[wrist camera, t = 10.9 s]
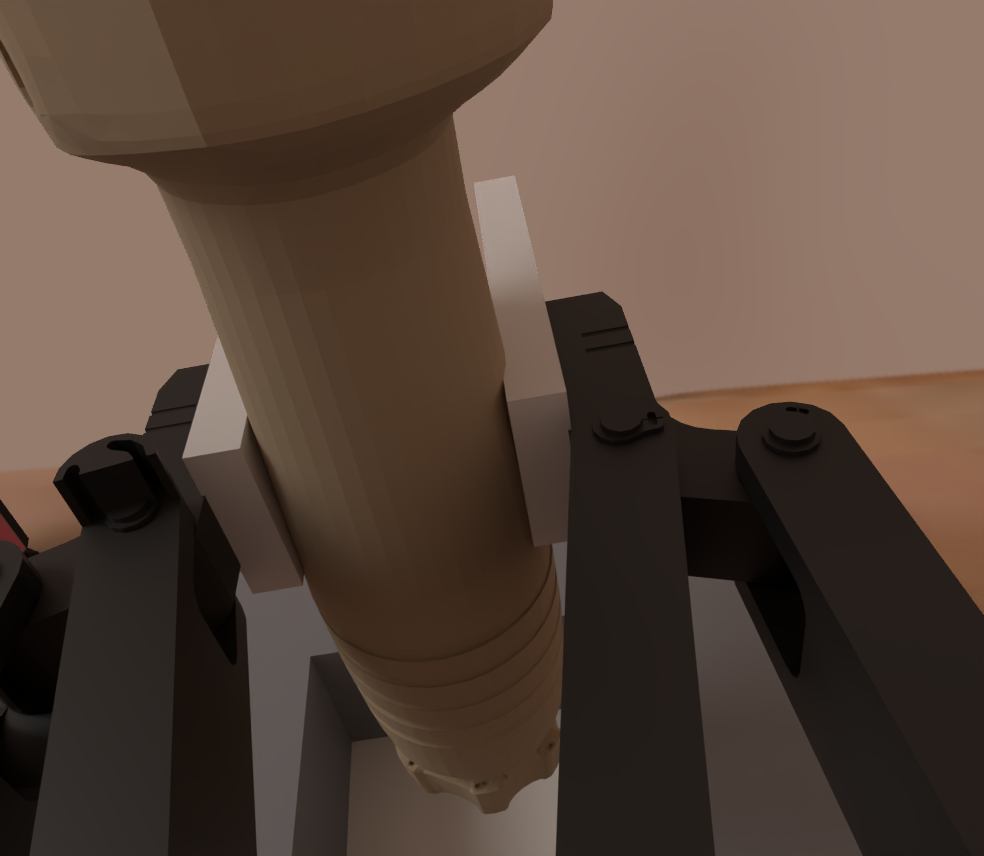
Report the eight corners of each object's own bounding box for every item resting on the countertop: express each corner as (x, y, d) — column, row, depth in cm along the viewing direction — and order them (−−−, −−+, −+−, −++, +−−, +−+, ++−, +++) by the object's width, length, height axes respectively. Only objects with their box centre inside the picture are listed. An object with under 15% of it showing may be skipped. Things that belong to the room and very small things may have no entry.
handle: (497, 586, 21) (318, -164, 11) (687, 791, 16) (664, -164, 7) (315, 701, 19) (-77, -64, 9) (474, 964, 15) (35, 26, 5)
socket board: (-125, 1589, 15) (-381, 1632, 11) (143, 628, 30) (70, 518, 27) (1322, 1409, 14) (1534, 1394, 10) (839, 515, 29) (858, 386, 26)
